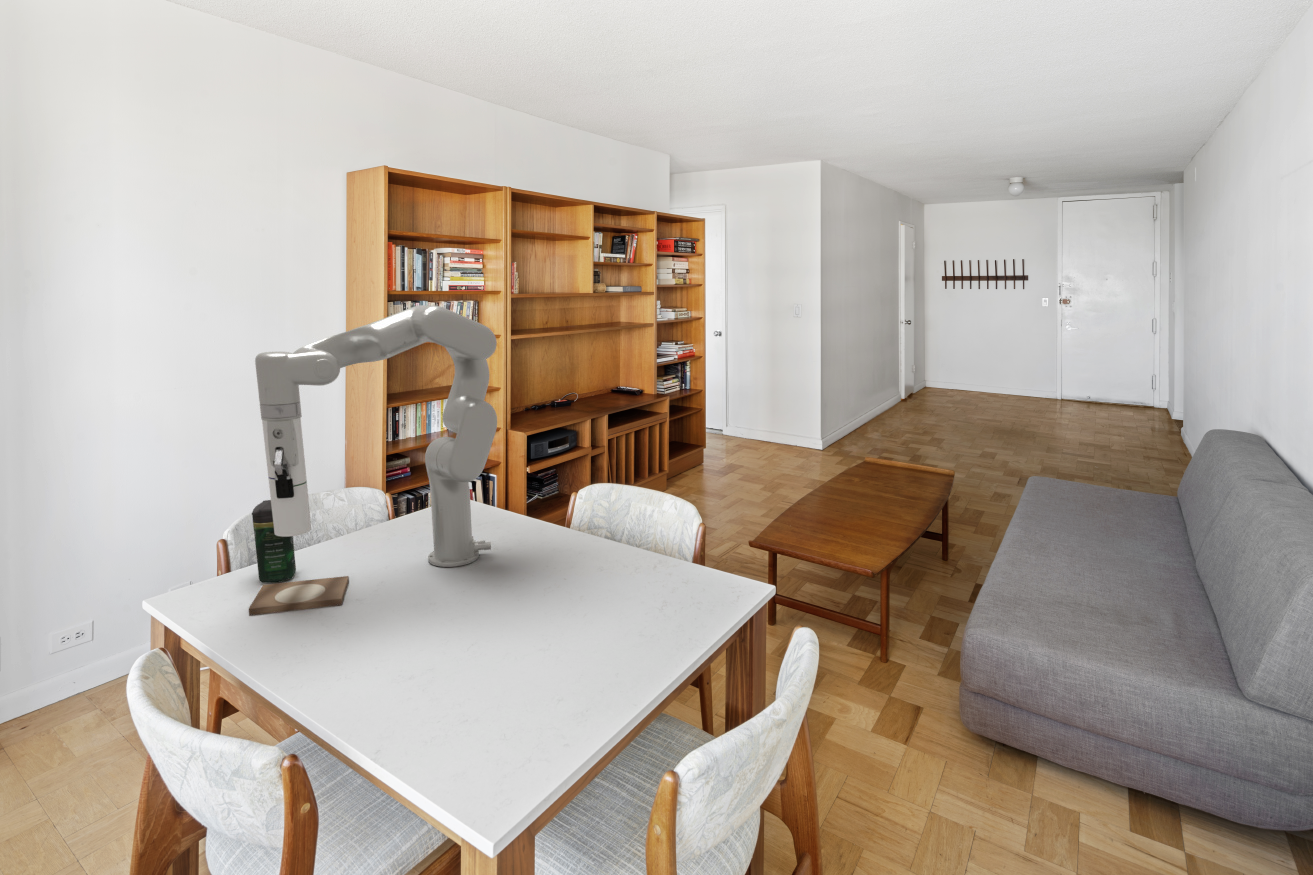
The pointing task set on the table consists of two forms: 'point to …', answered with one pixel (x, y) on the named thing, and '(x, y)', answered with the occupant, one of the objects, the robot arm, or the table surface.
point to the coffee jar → (272, 547)
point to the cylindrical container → (294, 511)
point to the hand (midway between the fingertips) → (289, 492)
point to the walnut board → (299, 595)
